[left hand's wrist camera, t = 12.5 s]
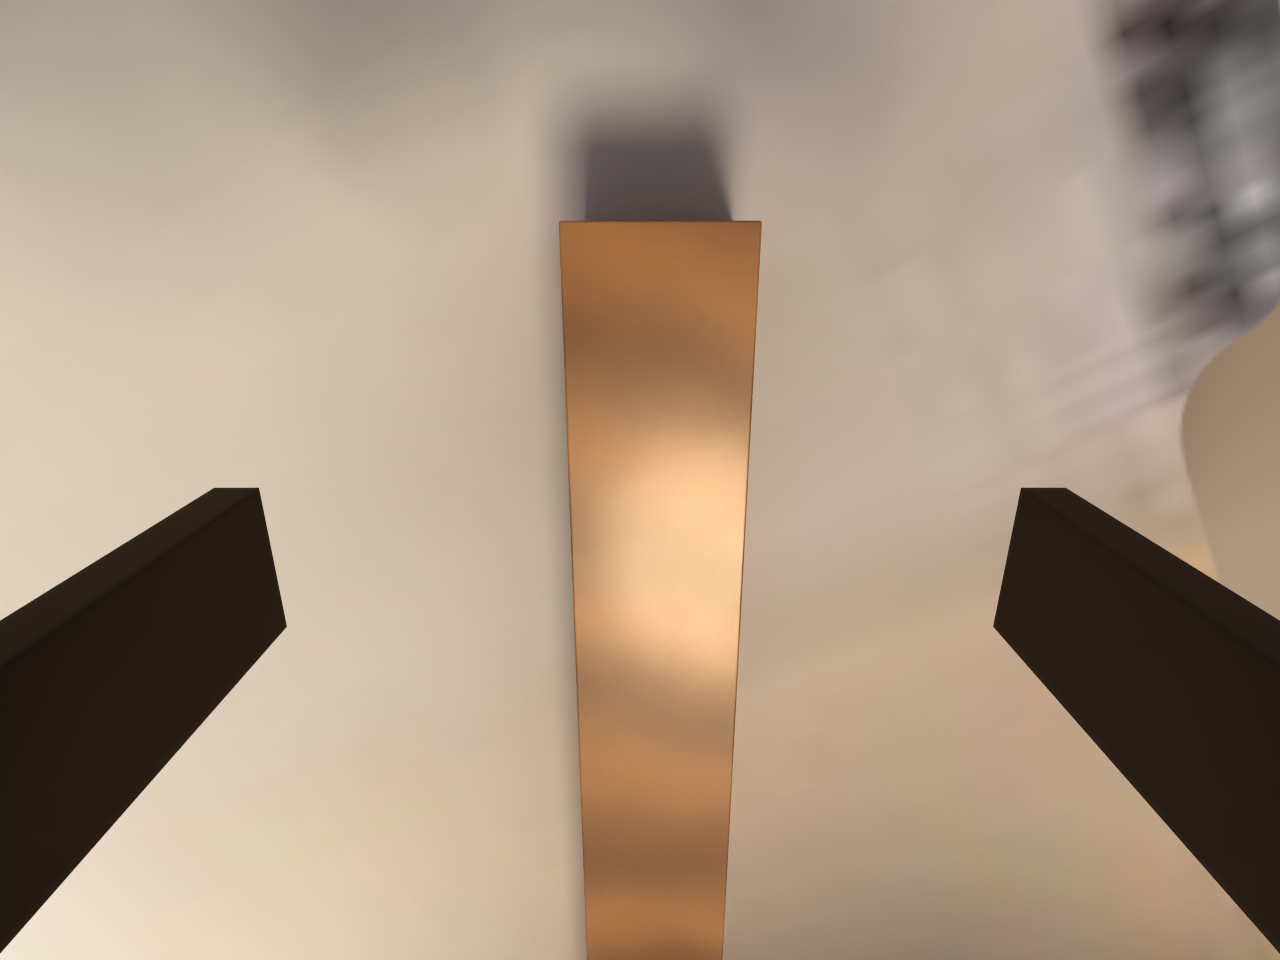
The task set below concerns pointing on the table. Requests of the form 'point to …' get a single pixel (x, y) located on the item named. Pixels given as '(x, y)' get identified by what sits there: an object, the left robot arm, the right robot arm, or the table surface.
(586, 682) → the beam
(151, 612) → the left robot arm
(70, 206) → the table surface
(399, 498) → the table surface
